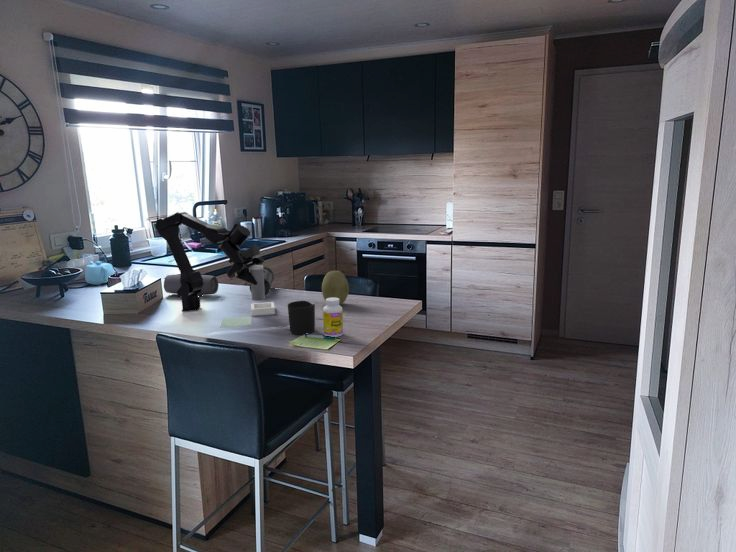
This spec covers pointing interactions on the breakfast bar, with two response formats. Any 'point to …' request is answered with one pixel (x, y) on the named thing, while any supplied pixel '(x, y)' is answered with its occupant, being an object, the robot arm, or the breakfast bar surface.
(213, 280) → the bluetooth speaker
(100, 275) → the teapot
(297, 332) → the pen holder
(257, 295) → the grey rectangular block
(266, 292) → the muzzle brake
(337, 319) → the supplement bottle
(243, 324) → the pad
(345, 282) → the fruit
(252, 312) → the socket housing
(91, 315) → the breakfast bar surface
